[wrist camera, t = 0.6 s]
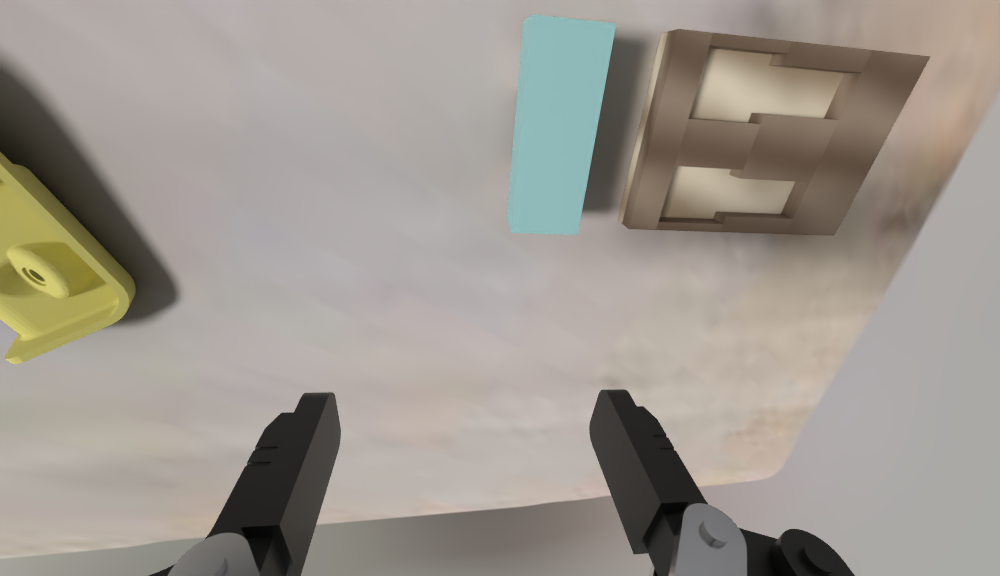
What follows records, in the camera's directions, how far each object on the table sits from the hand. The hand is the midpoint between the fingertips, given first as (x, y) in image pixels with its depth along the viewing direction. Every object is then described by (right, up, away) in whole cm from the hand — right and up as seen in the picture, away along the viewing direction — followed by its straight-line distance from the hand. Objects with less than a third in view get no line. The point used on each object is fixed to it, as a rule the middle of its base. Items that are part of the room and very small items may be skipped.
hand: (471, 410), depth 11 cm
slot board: (+22, +16, +20) cm, 34 cm away
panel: (+4, +16, +18) cm, 24 cm away
